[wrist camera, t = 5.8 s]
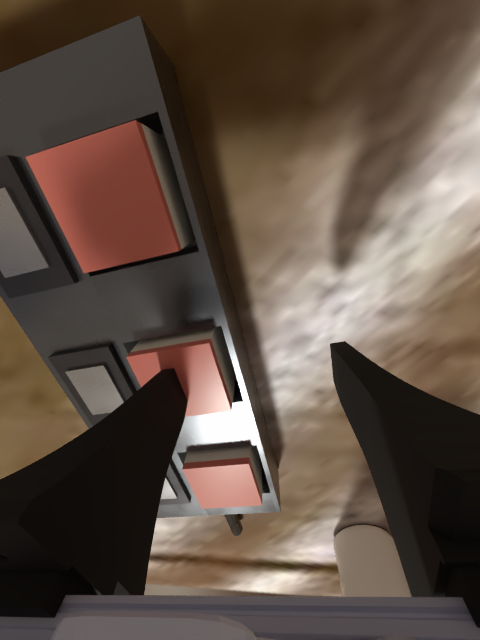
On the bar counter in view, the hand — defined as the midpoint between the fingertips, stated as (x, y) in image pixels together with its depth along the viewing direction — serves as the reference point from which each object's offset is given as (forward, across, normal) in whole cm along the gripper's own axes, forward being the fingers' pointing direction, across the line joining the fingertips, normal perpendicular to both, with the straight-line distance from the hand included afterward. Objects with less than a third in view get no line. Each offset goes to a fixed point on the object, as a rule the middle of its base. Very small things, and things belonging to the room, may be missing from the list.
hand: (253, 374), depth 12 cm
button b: (+3, +4, 0) cm, 4 cm away
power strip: (+4, +6, +3) cm, 8 cm away
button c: (+3, +4, -8) cm, 9 cm away
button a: (+3, +4, +8) cm, 9 cm away
